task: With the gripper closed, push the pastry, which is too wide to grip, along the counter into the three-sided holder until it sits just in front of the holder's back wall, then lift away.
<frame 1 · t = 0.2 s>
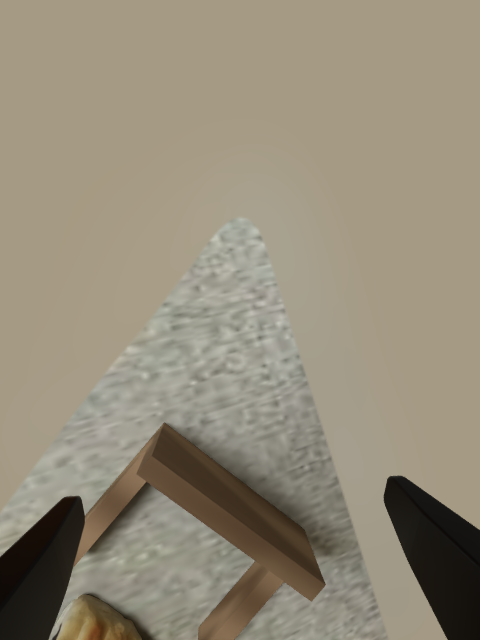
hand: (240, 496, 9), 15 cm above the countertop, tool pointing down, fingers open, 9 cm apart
pastry: (101, 632, 26), on the countertop
holder: (185, 538, 25), on the countertop
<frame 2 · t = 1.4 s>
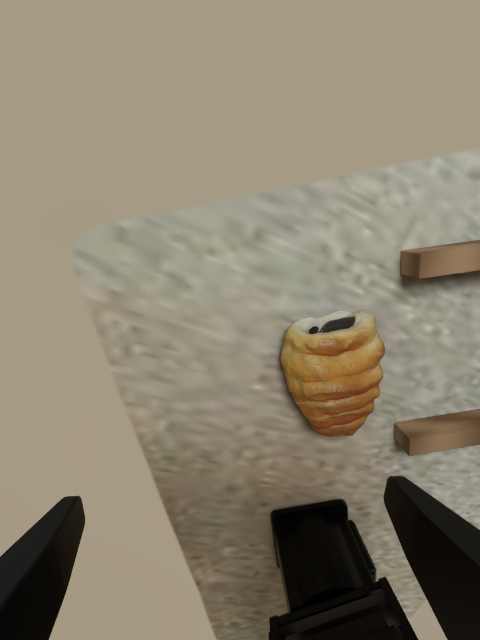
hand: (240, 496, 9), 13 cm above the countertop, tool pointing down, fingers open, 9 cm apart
pastry: (327, 360, 23), on the countertop
holder: (469, 343, 23), on the countertop
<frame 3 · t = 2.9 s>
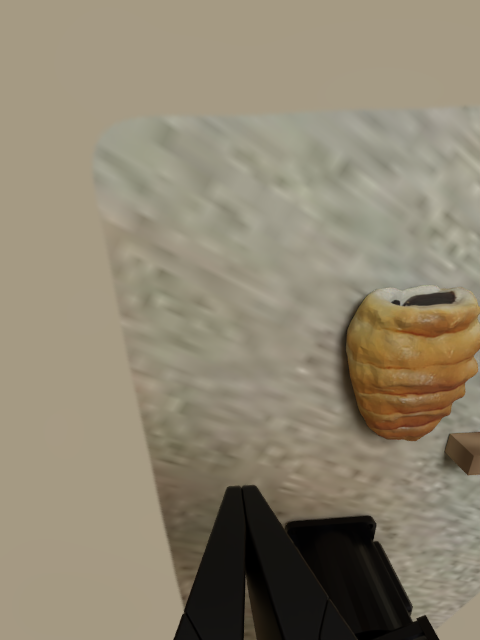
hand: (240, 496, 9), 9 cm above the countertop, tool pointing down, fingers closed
pastry: (395, 346, 19), on the countertop
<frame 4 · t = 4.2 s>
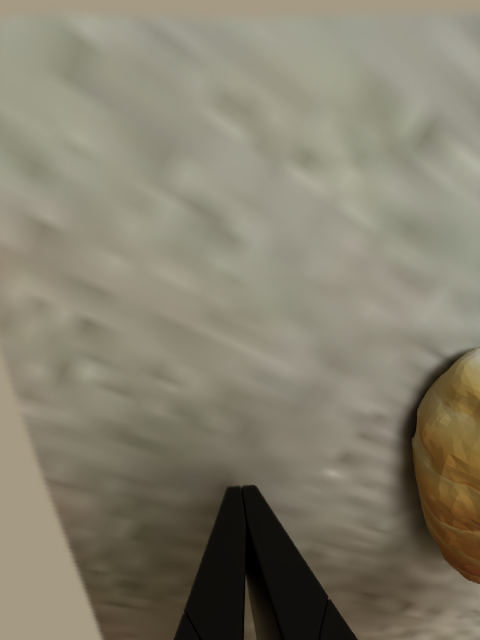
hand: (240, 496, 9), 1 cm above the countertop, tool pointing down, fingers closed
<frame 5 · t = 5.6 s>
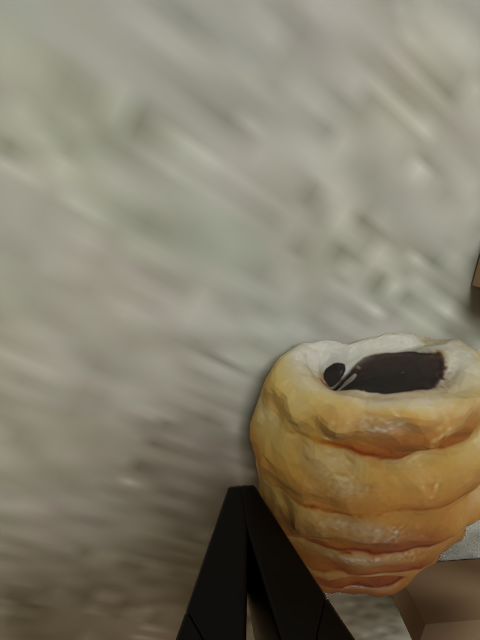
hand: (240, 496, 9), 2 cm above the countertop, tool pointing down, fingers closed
pastry: (348, 429, 11), on the countertop, touching gripper
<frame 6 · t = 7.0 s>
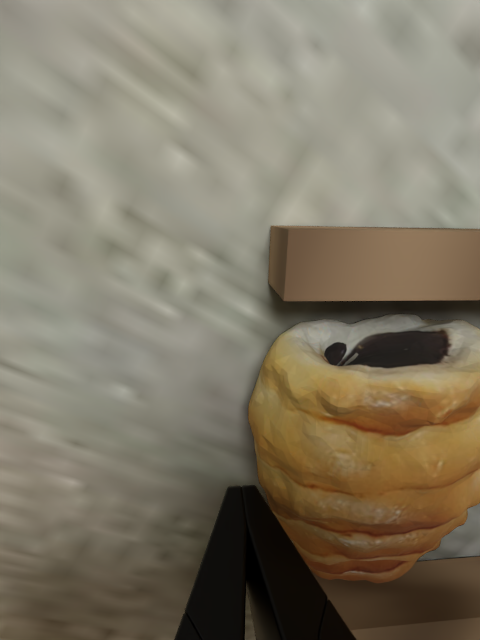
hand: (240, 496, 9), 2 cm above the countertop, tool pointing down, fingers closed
pastry: (348, 413, 11), on the countertop
holder: (412, 448, 11), on the countertop
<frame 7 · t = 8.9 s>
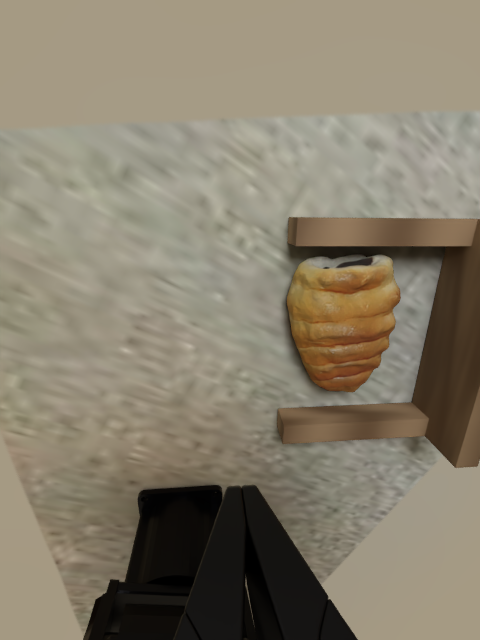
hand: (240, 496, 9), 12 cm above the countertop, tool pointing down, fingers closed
pastry: (334, 310, 21), on the countertop
holder: (360, 331, 22), on the countertop
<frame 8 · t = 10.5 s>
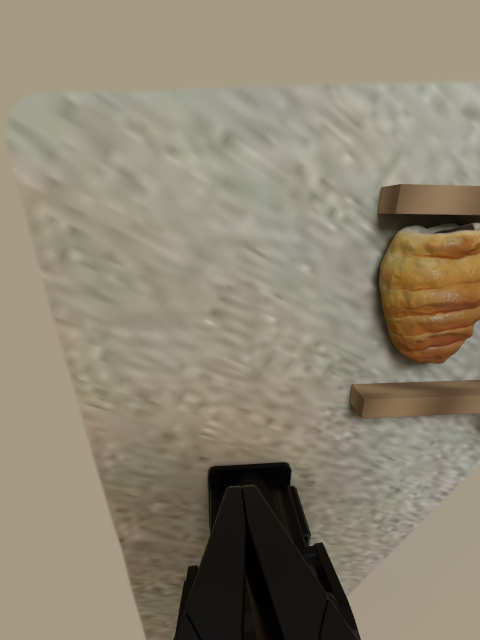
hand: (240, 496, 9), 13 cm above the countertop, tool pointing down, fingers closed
pastry: (421, 282, 21), on the countertop
holder: (439, 306, 21), on the countertop
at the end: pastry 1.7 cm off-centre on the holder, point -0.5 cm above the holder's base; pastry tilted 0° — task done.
